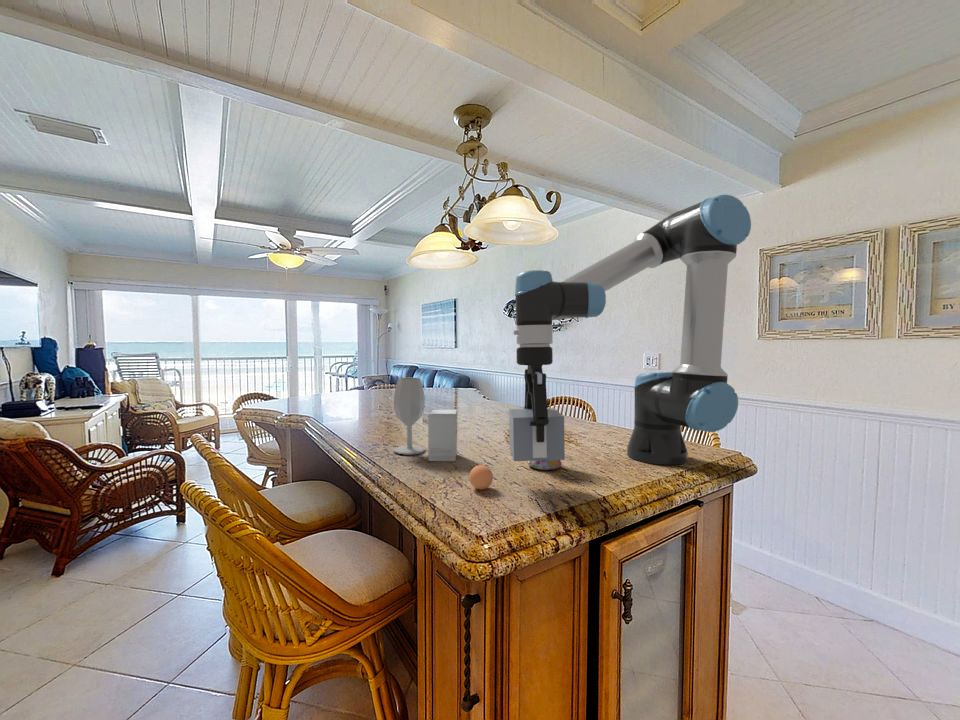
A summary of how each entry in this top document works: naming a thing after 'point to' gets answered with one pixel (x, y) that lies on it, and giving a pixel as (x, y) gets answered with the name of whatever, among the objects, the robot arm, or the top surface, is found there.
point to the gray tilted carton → (523, 435)
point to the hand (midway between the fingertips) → (535, 450)
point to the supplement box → (442, 435)
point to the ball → (481, 477)
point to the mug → (545, 464)
